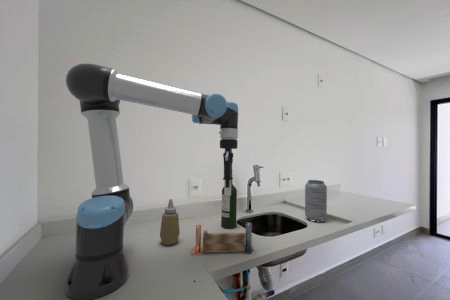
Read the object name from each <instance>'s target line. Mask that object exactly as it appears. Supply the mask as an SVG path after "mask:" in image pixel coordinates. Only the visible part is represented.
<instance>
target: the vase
mask: <svg viewBox="0 0 450 300" xmlns="http://www.w3.org/2000/svg"><path fill="white" fill-rule="evenodd" d="M327 187H328V186H327V185H326V183H325V182H324V180H317V179H308V180H307V182H306V183H305V186H304V216H305V218H307V220H308V219H311V220H315V221H322V220H324V221H326V220H327V217H328V215H327V214H328V213H327V210H328V209H327V208H328V204H327V203H328V201H327V200H328V198H327V197H328V192H327V191H328V188H327Z"/></svg>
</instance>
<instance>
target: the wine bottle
mask: <svg viewBox="0 0 450 300" xmlns="http://www.w3.org/2000/svg"><path fill="white" fill-rule="evenodd" d="M237 197H238V190H237V188H236V186H235V185H234V184H233V179H231V196H230V195H224V186H223V187H222V189H221V215H220V216H221V219H220V220H221V222H220V223H221V227H222V228H223V229H225V230H233V229H235V228H236V227H237V208H238V207H237V205H238V204H237V203H238V198H237Z"/></svg>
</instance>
